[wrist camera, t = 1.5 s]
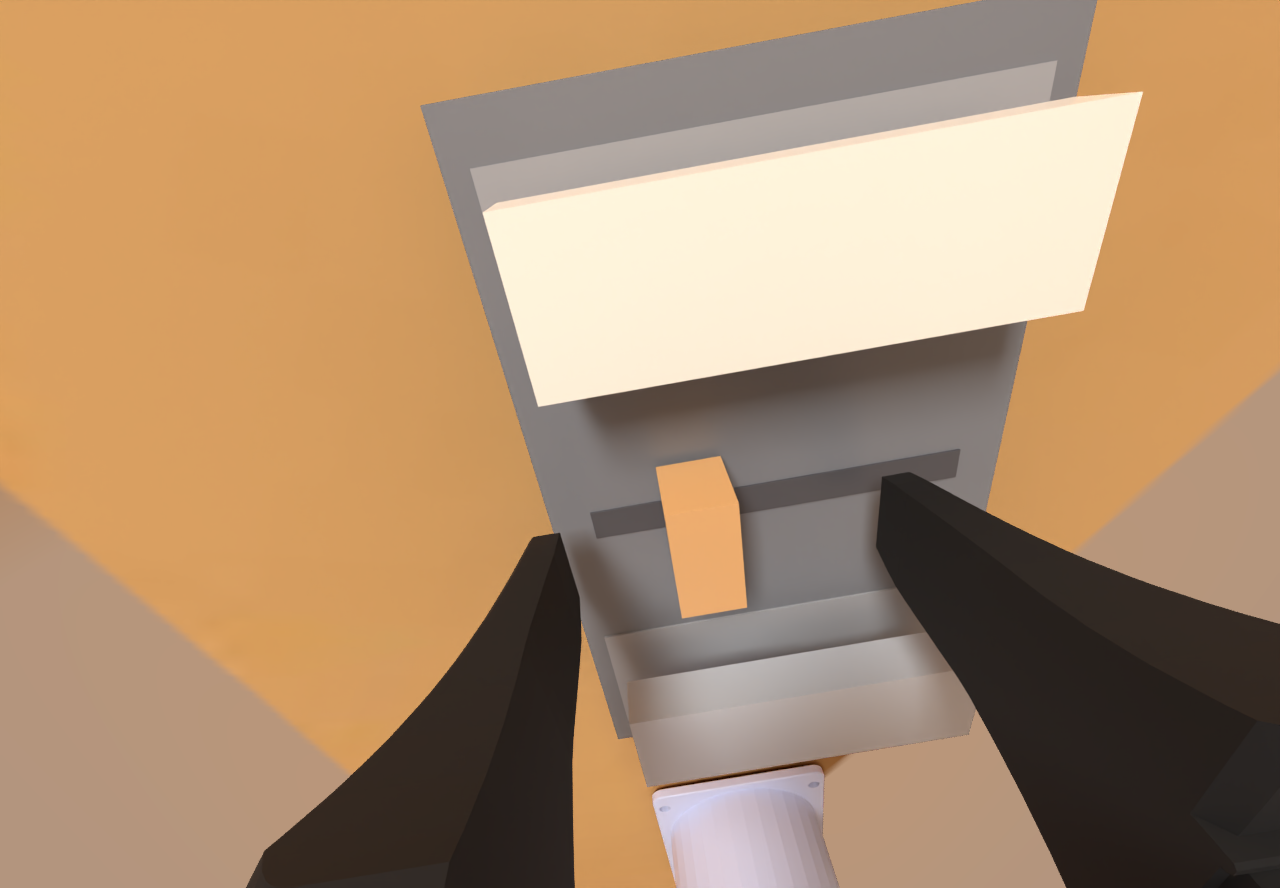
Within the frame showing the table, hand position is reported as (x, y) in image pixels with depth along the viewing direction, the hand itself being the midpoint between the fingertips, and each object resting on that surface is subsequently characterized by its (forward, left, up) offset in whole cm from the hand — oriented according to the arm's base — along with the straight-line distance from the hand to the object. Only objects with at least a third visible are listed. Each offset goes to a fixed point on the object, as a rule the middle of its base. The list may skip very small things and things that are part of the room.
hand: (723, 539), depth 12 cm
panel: (0, -1, -4) cm, 5 cm away
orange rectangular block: (0, +1, -1) cm, 1 cm away
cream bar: (+6, -1, 0) cm, 6 cm away
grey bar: (-6, -2, 0) cm, 6 cm away
